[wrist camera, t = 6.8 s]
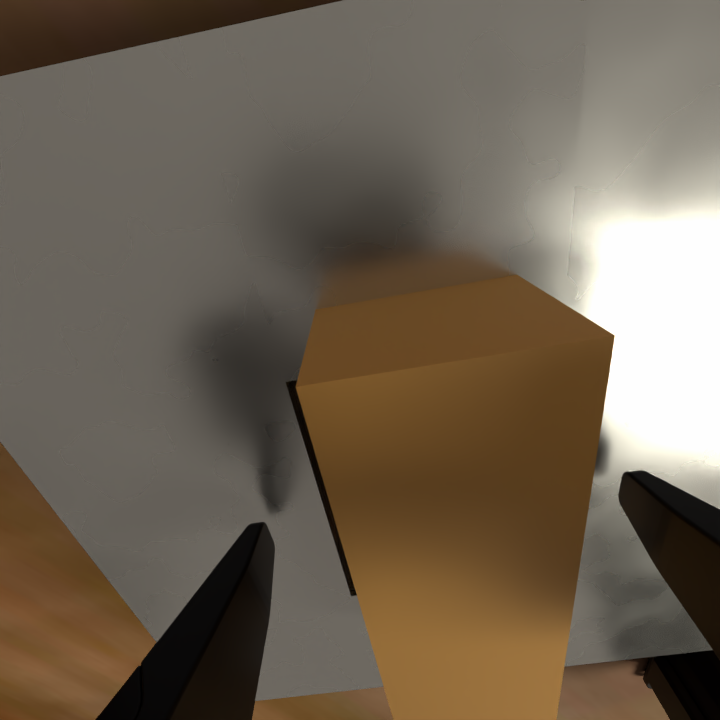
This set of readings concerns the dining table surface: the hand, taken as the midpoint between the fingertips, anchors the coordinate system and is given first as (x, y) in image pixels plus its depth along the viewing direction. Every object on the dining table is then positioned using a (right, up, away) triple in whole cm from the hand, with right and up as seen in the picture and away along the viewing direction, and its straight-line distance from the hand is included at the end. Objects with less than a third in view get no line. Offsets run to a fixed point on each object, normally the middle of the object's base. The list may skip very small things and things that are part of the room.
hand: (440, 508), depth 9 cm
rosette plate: (0, +2, +5) cm, 6 cm away
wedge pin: (0, +2, +4) cm, 5 cm away
